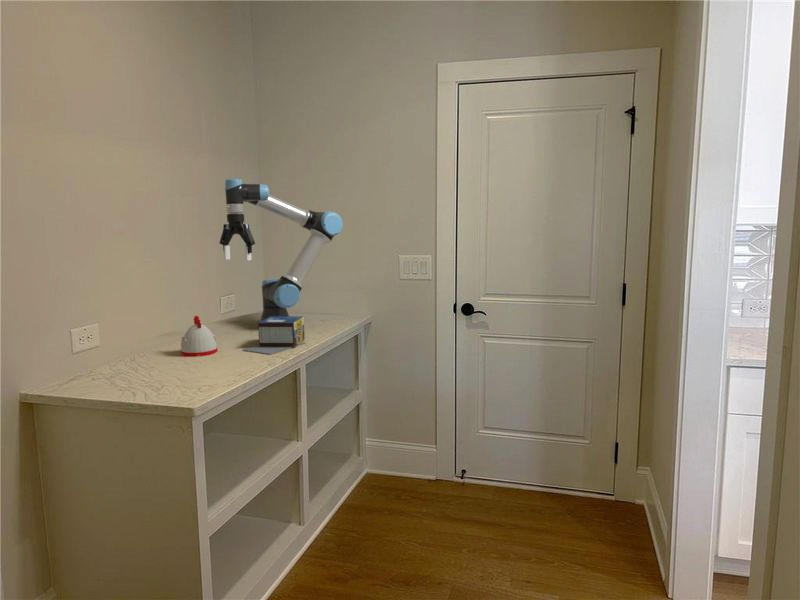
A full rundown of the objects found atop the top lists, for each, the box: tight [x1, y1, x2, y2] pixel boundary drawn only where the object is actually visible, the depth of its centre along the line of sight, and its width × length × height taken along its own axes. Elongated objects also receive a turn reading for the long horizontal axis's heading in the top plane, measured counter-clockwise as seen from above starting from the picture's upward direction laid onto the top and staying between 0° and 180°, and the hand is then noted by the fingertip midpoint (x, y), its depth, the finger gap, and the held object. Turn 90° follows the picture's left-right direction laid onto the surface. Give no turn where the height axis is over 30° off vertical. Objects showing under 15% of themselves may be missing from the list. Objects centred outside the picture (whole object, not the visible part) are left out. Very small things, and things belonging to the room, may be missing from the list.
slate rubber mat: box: [242, 341, 307, 356], centre depth 226 cm, size 22×15×1 cm
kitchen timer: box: [180, 315, 218, 358], centre depth 218 cm, size 14×14×15 cm
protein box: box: [257, 315, 306, 348], centre depth 231 cm, size 10×15×16 cm
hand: (238, 259), depth 250 cm, fingers open, 13 cm apart
